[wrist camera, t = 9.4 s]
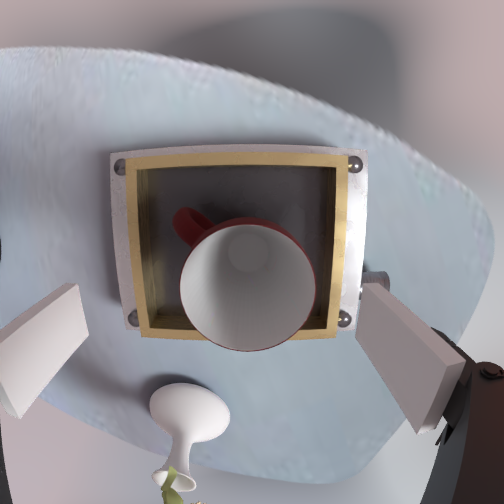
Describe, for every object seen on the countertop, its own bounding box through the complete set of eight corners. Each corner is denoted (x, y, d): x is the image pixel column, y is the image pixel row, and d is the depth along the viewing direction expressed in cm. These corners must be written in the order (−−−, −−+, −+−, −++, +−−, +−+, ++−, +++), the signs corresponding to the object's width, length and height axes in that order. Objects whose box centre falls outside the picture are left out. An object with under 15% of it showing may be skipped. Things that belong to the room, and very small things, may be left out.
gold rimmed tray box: (140, 310, 33) (115, 343, 26) (129, 156, 29) (95, 150, 21) (371, 308, 34) (398, 340, 26) (382, 157, 29) (419, 153, 22)
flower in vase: (217, 438, 39) (203, 579, 15) (147, 416, 38) (99, 551, 13) (246, 382, 36) (245, 562, 12) (162, 355, 35) (92, 525, 11)
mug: (165, 252, 26) (122, 291, 17) (208, 175, 25) (182, 171, 15) (262, 308, 28) (268, 371, 18) (310, 237, 26) (343, 269, 16)
